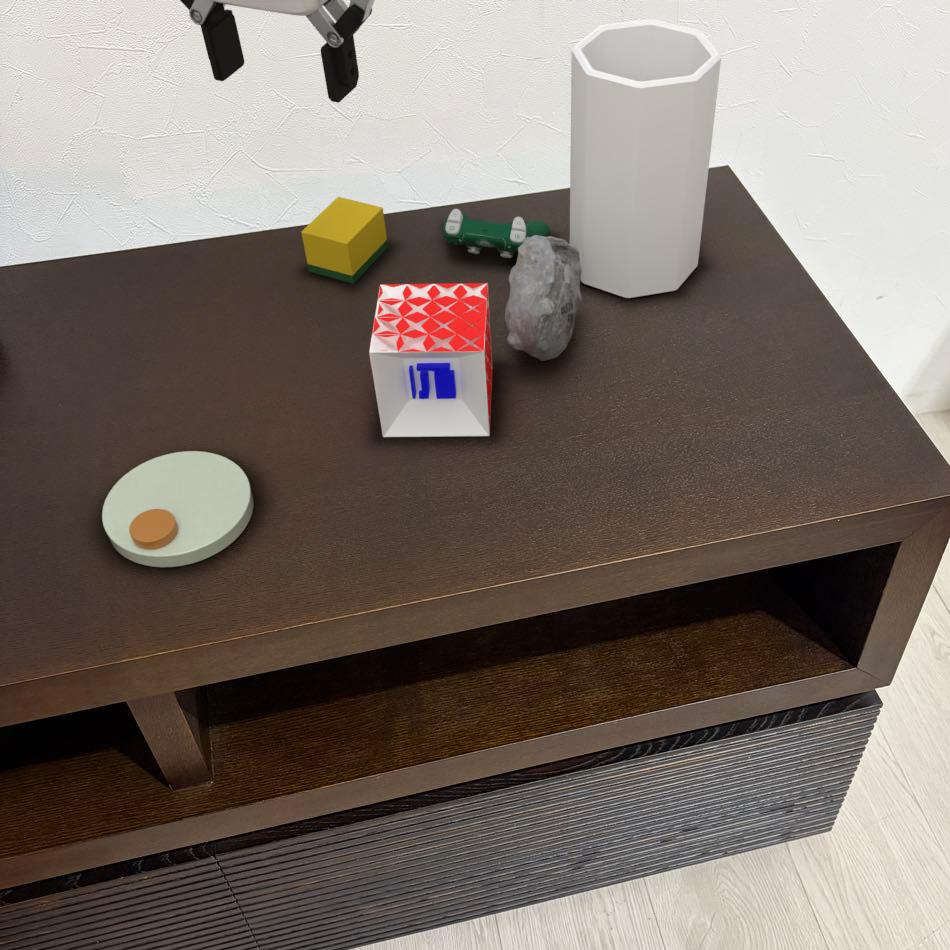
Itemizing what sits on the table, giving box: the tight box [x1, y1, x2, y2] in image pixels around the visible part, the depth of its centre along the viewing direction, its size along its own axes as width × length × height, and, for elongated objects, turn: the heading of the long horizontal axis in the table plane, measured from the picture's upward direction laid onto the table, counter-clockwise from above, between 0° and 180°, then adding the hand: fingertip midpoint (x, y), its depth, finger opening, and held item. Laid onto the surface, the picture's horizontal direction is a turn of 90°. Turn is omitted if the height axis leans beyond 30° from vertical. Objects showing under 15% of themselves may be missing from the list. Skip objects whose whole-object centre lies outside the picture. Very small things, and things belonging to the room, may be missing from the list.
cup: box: [569, 18, 722, 299], centre depth 89 cm, size 11×11×18 cm
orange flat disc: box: [129, 509, 178, 549], centre depth 73 cm, size 3×3×1 cm
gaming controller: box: [442, 208, 552, 259], centre depth 96 cm, size 9×4×6 cm
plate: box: [101, 450, 255, 568], centre depth 76 cm, size 10×10×1 cm
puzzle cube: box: [368, 282, 494, 438], centre depth 81 cm, size 8×8×8 cm
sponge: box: [300, 196, 389, 285], centre depth 95 cm, size 6×4×4 cm
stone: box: [504, 235, 583, 362], centre depth 84 cm, size 9×7×10 cm
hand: (286, 83), depth 81 cm, fingers open, 9 cm apart
